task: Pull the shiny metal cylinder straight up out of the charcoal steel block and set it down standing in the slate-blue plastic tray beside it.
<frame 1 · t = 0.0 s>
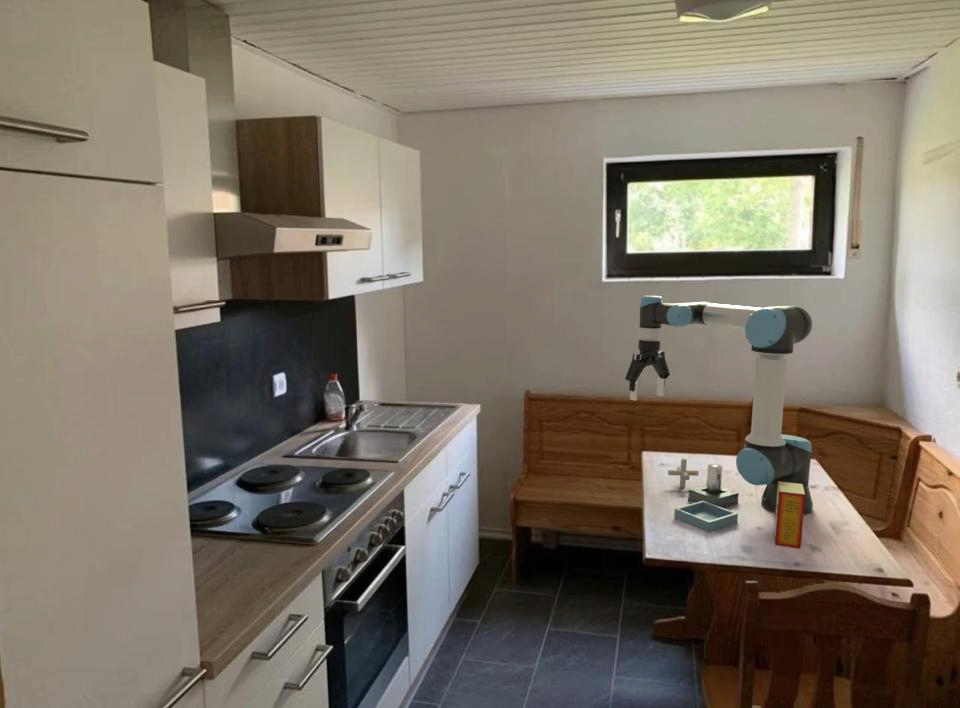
hand: (646, 397, 260), 28 cm above the table, tool pointing down, fingers open, 13 cm apart
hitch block: (712, 501, 236), on the table
parts tray: (705, 521, 219), on the table
pipe connector: (682, 487, 250), on the table
baking soda box: (786, 541, 205), on the table
shiny metal cylinder: (714, 483, 235), in the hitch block
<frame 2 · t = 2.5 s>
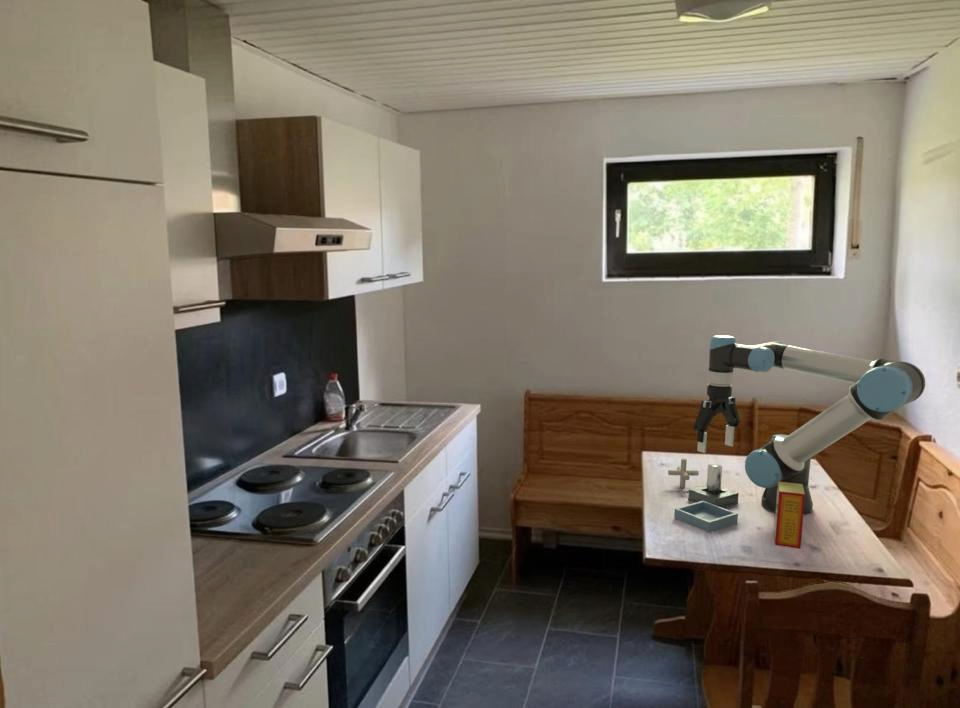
hand: (715, 448, 234), 18 cm above the table, tool pointing down, fingers open, 13 cm apart
nothing on the table moved.
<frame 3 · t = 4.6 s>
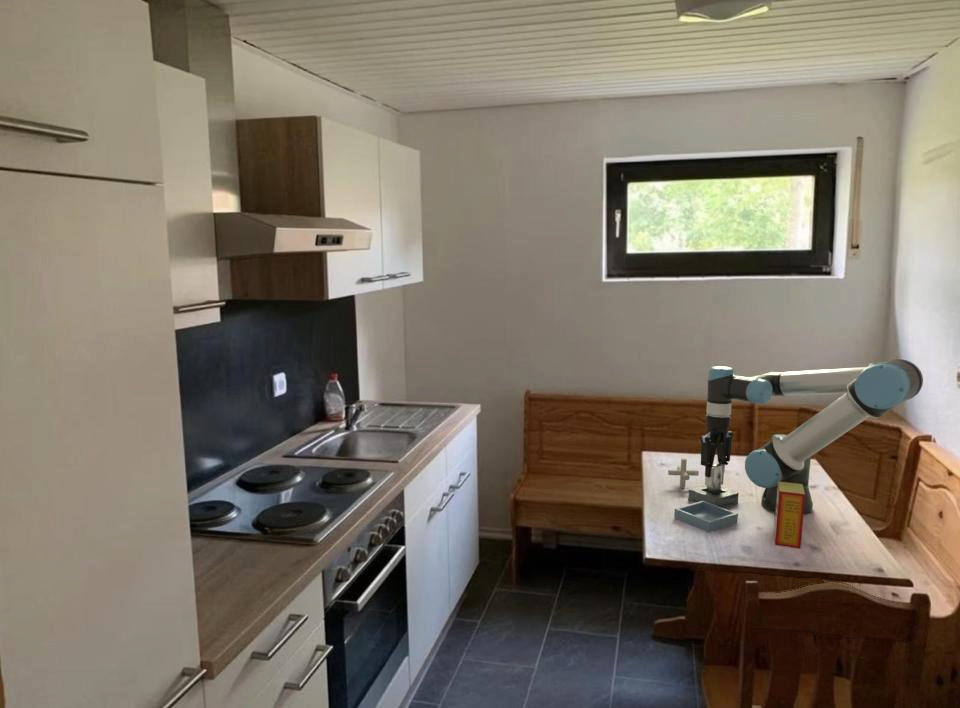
hand: (714, 484, 235), 6 cm above the table, tool pointing down, fingers closed on shiny metal cylinder, 4 cm apart
shiny metal cylinder: (714, 482, 235), in the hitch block, touching gripper
everything else where it was.
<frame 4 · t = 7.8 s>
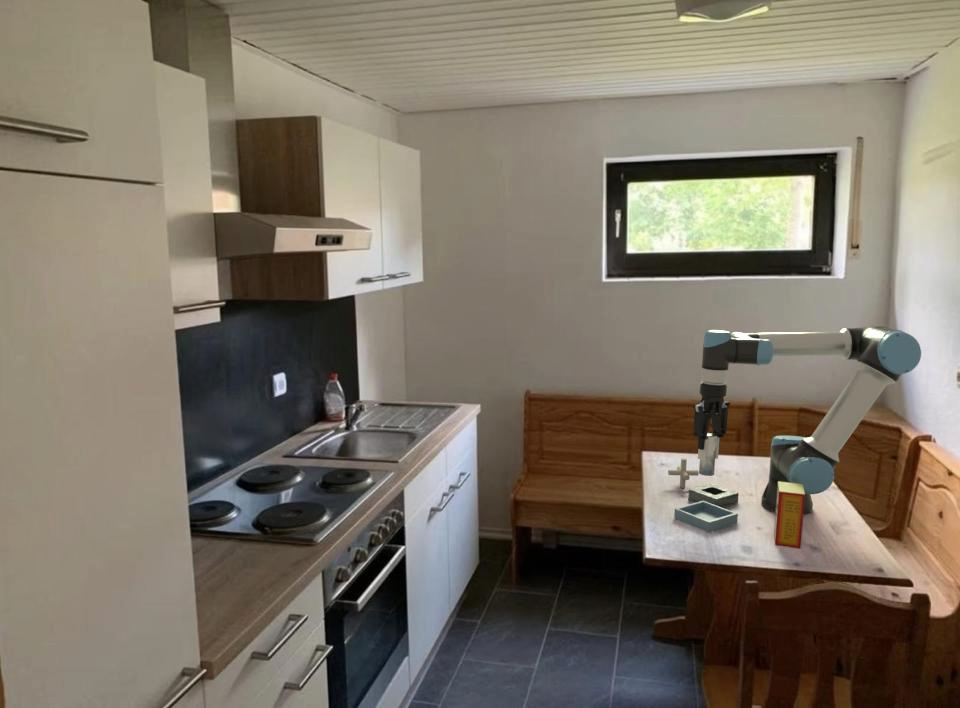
hand: (707, 458, 218), 19 cm above the table, tool pointing down, fingers closed on shiny metal cylinder, 4 cm apart
shiny metal cylinder: (707, 454, 218), point 20 cm above the table, touching gripper
everything else where it was.
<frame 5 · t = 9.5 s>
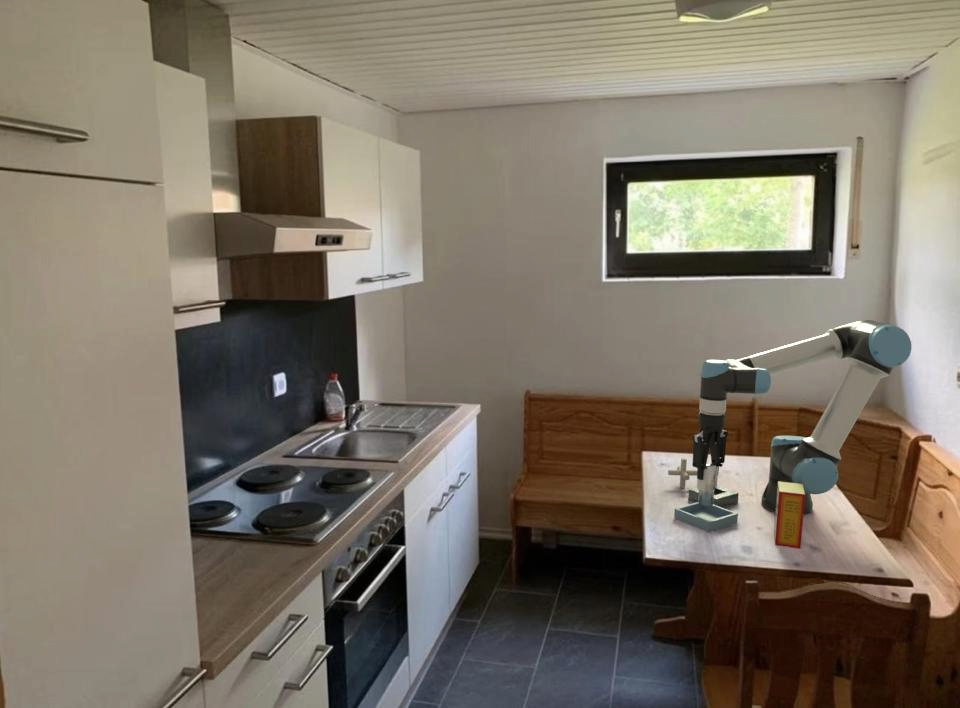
hand: (706, 487, 217), 10 cm above the table, tool pointing down, fingers closed on shiny metal cylinder, 4 cm apart
shiny metal cylinder: (707, 483, 217), point 12 cm above the table, touching gripper
everything else where it was.
when the fingers open (7 cm above the table, at t = 10.8 s): shiny metal cylinder drops 3 cm, resting on parts tray.
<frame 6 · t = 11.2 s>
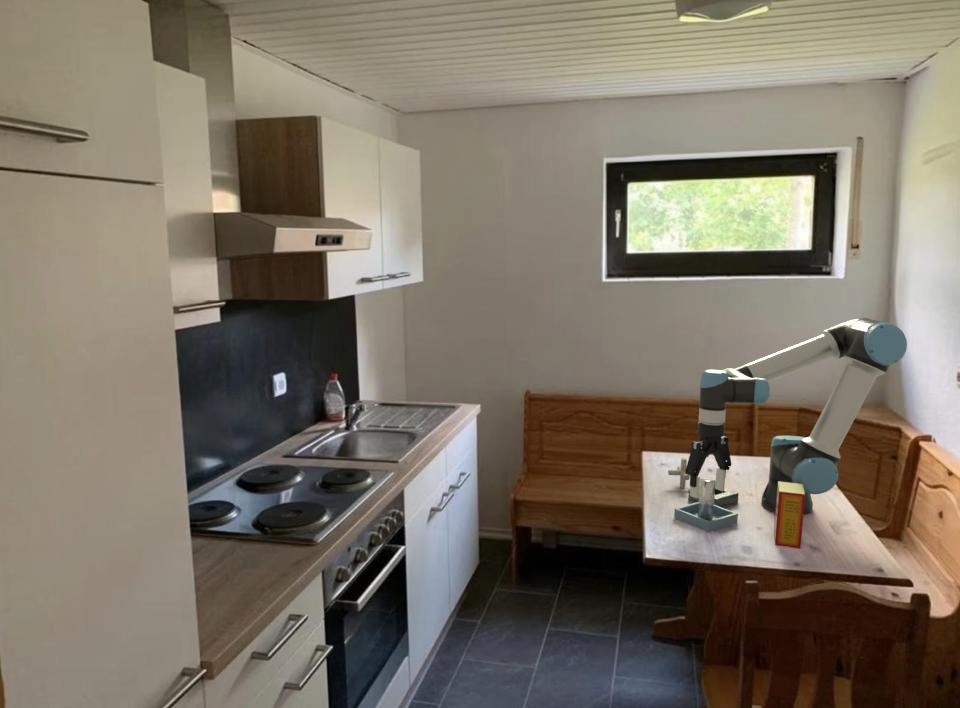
hand: (707, 493, 218), 9 cm above the table, tool pointing down, fingers open, 11 cm apart
shiny metal cylinder: (706, 499, 218), in the parts tray, point 7 cm above the table
everything else where it was.
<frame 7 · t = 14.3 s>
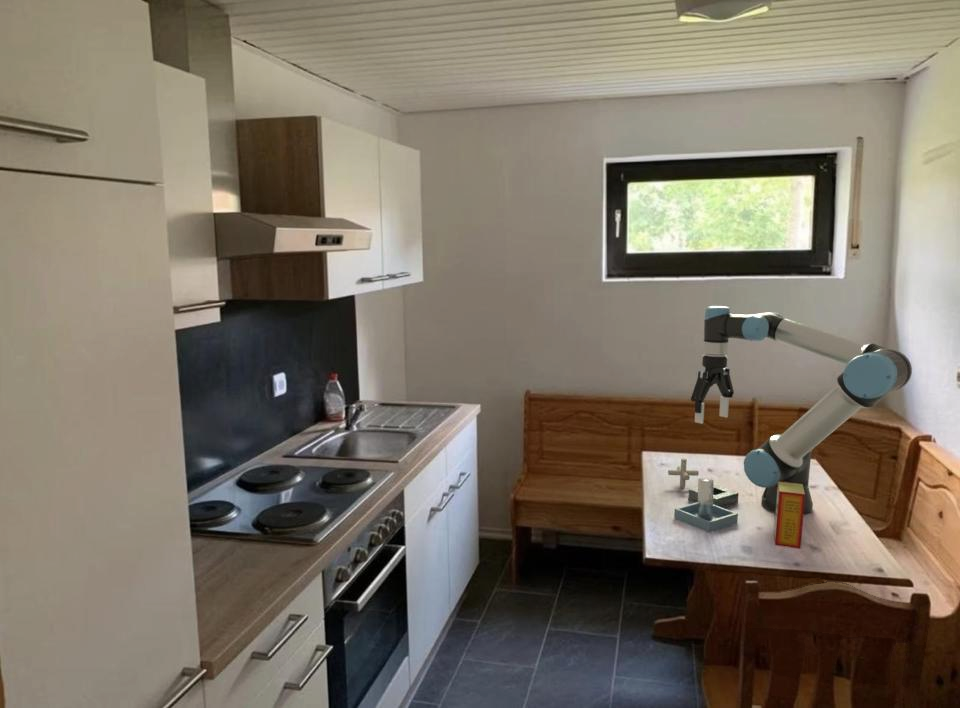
hand: (711, 419, 234), 27 cm above the table, tool pointing down, fingers open, 13 cm apart
nothing on the table moved.
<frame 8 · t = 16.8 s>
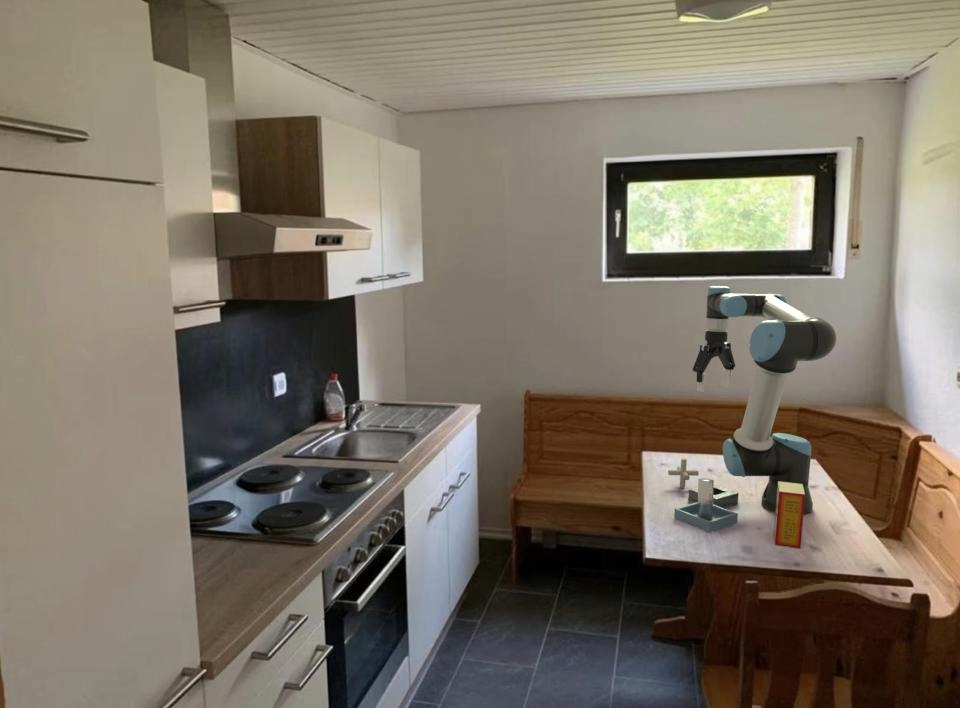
hand: (713, 389, 258), 32 cm above the table, tool pointing down, fingers open, 13 cm apart
nothing on the table moved.
at the end: shiny metal cylinder inside the target area on the parts tray (0.2 cm from its centre), point 6.9 cm above the parts tray's base; the gripper is holding nothing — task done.
